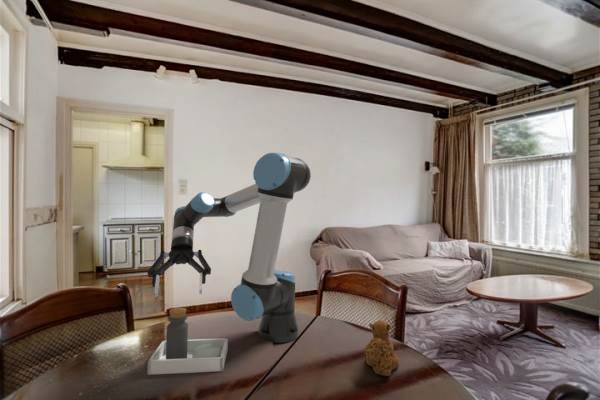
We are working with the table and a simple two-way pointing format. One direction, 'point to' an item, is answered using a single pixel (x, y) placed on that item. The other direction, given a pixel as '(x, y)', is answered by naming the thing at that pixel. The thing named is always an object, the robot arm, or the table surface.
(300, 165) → the robot arm
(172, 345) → the bottle
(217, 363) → the tray
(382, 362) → the brown fuzzy plush figure
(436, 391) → the table surface
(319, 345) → the table surface
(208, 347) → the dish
